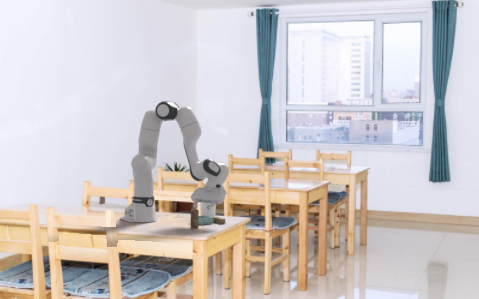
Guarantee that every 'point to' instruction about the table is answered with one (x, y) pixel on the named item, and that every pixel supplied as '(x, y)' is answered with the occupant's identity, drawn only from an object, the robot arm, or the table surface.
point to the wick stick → (194, 218)
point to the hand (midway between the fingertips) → (201, 207)
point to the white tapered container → (207, 210)
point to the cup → (205, 220)
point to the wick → (219, 220)
